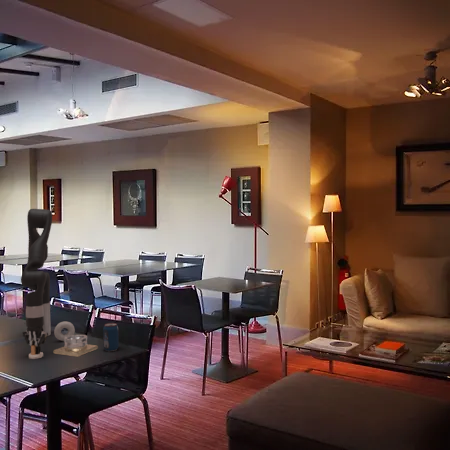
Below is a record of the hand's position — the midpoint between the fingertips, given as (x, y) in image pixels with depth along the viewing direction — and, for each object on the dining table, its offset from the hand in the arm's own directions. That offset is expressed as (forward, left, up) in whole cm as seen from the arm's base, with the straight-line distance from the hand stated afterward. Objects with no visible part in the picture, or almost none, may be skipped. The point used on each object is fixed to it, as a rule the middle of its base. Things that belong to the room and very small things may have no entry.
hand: (35, 353), depth 230 cm
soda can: (+25, +22, -2) cm, 33 cm away
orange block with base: (0, 0, -2) cm, 2 cm away
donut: (-7, +27, -2) cm, 28 cm away
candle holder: (+11, +14, -1) cm, 18 cm away
